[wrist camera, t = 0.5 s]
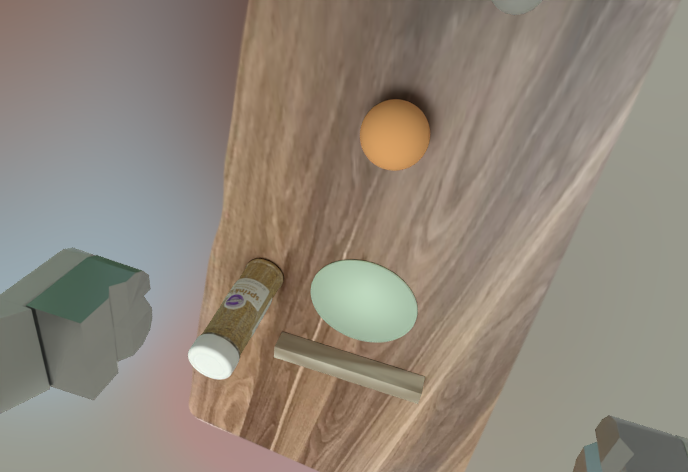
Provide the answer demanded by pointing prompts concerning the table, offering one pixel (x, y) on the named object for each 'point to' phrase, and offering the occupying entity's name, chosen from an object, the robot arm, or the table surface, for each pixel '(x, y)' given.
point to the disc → (364, 300)
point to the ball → (395, 134)
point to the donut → (516, 6)
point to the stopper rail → (349, 367)
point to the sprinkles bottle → (236, 320)
